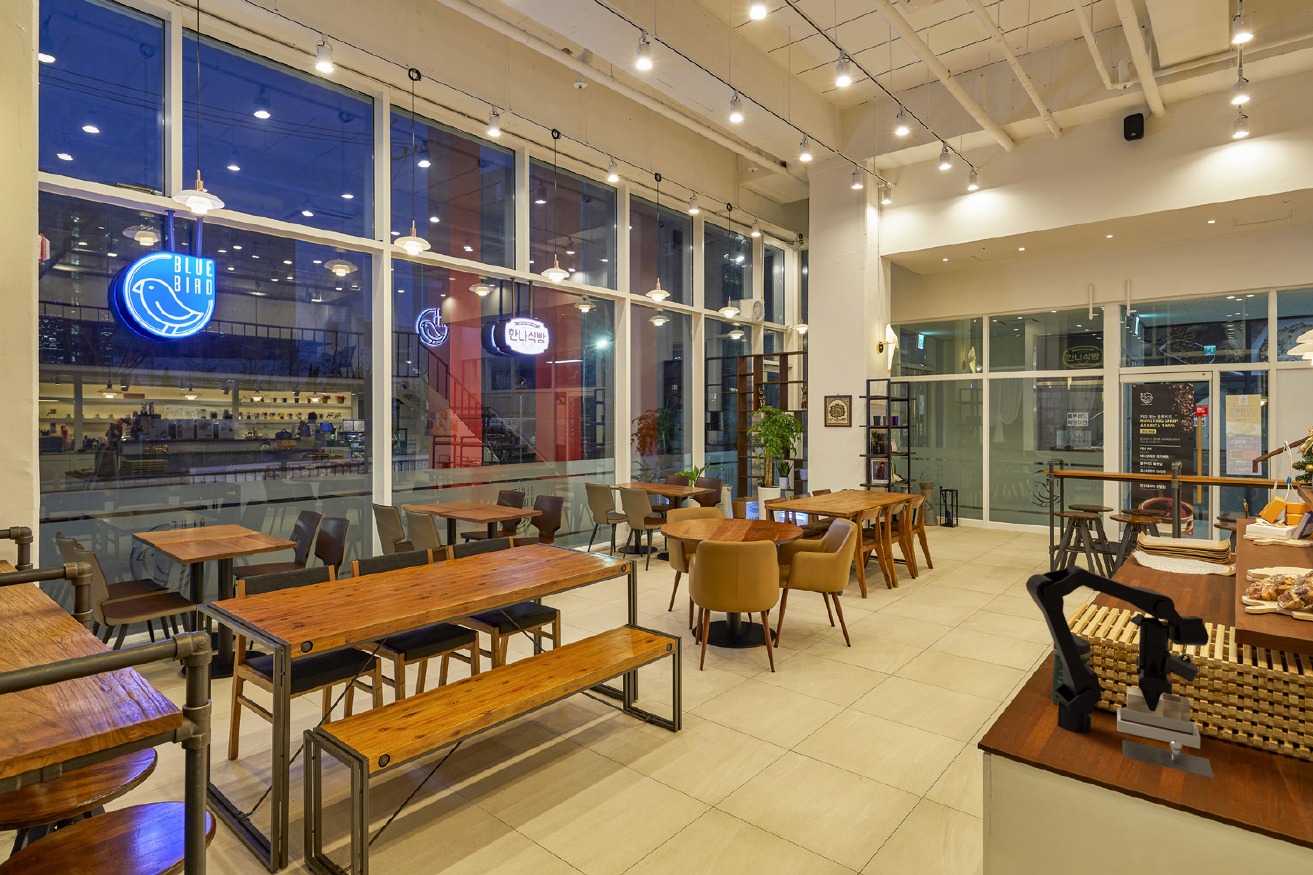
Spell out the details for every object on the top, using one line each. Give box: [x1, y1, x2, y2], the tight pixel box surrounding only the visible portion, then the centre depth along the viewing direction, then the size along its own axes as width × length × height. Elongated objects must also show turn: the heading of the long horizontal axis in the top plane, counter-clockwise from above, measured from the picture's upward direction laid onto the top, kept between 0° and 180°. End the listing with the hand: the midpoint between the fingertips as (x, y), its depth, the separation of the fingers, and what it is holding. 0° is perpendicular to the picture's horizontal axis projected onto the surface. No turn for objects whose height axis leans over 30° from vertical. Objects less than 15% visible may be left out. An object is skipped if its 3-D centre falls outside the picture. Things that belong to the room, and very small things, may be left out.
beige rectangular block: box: [1126, 685, 1191, 722], centre depth 164 cm, size 12×5×4 cm, turn 57°
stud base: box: [1121, 739, 1215, 779], centre depth 152 cm, size 16×9×5 cm, turn 57°
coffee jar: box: [1051, 634, 1092, 705], centre depth 182 cm, size 10×8×19 cm
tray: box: [1116, 706, 1201, 750], centre depth 164 cm, size 16×9×4 cm, turn 57°
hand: (1151, 706), depth 165 cm, fingers closed on beige rectangular block, 5 cm apart
